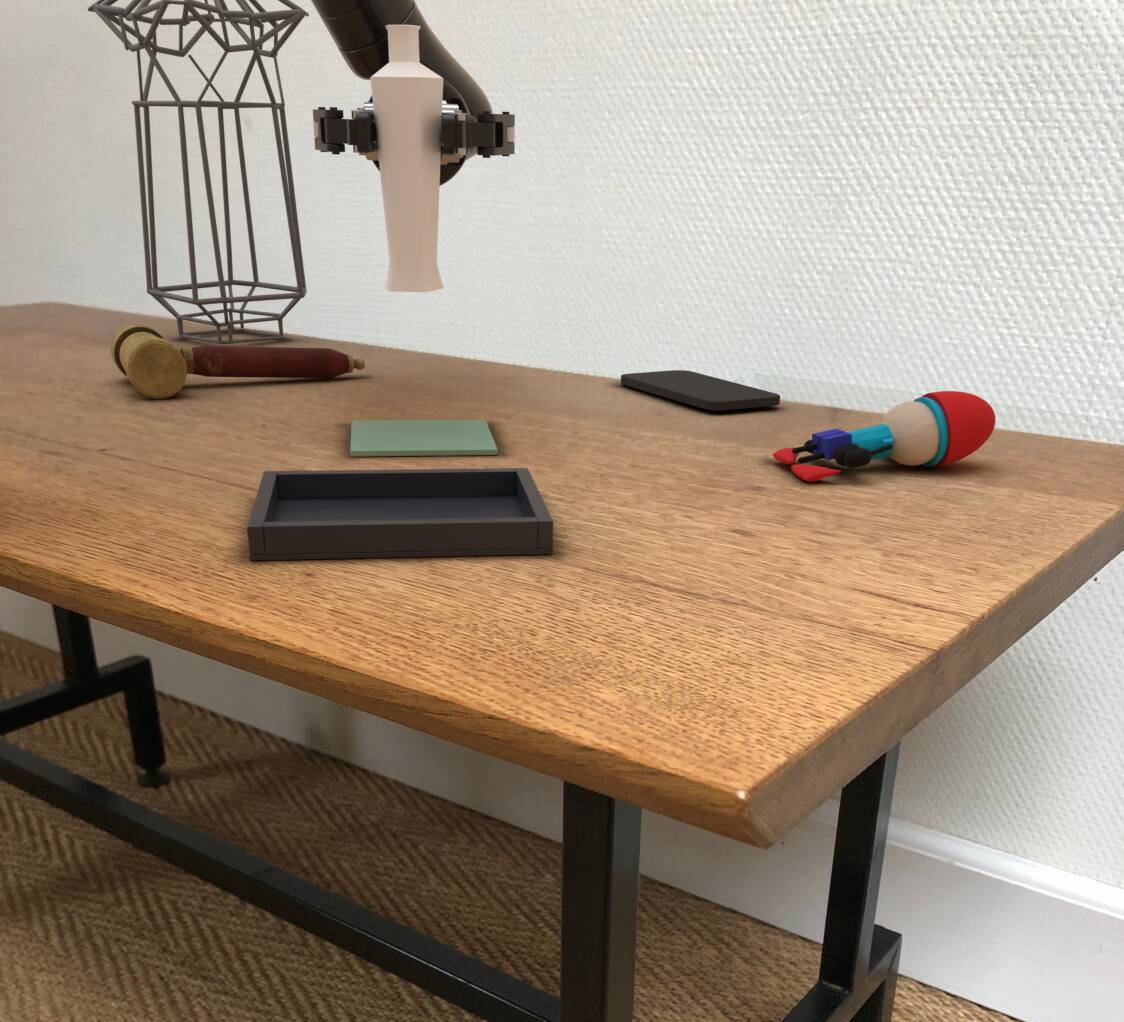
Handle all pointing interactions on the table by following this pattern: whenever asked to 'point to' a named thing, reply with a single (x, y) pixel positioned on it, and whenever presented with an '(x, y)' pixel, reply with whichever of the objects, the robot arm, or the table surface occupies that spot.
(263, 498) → the tray
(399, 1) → the robot arm
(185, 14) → the geometric lantern
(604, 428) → the table surface
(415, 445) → the mat
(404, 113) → the perfume bottle
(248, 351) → the gavel
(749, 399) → the phone
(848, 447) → the toy figure
